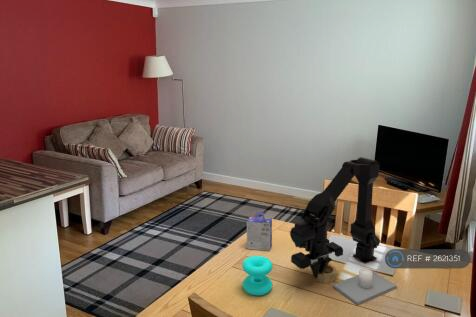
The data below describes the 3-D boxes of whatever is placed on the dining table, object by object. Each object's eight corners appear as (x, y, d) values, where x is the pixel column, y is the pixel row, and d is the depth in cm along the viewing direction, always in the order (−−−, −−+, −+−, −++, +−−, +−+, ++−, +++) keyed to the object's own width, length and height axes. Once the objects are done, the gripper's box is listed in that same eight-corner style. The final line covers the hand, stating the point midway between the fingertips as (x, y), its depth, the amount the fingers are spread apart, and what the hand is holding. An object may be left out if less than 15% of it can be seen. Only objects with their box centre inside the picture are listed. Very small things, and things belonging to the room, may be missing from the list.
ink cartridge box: (272, 245, 157) (272, 212, 153) (270, 251, 152) (271, 217, 148) (248, 243, 159) (248, 210, 155) (246, 249, 154) (246, 216, 150)
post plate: (370, 272, 136) (372, 257, 134) (396, 288, 126) (398, 271, 125) (332, 287, 127) (333, 271, 126) (357, 305, 118) (358, 288, 117)
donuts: (260, 251, 132) (278, 263, 124) (260, 276, 134) (278, 290, 126) (236, 259, 127) (253, 273, 119) (237, 285, 129) (253, 300, 121)
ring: (325, 268, 139) (325, 260, 138) (340, 278, 132) (341, 271, 132) (308, 274, 135) (308, 266, 135) (323, 285, 129) (323, 277, 128)
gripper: (323, 221, 139) (321, 259, 143) (281, 233, 130) (281, 273, 134) (345, 232, 130) (343, 273, 134) (302, 246, 121) (300, 289, 125)
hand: (316, 276), depth 132 cm, fingers closed on ring
